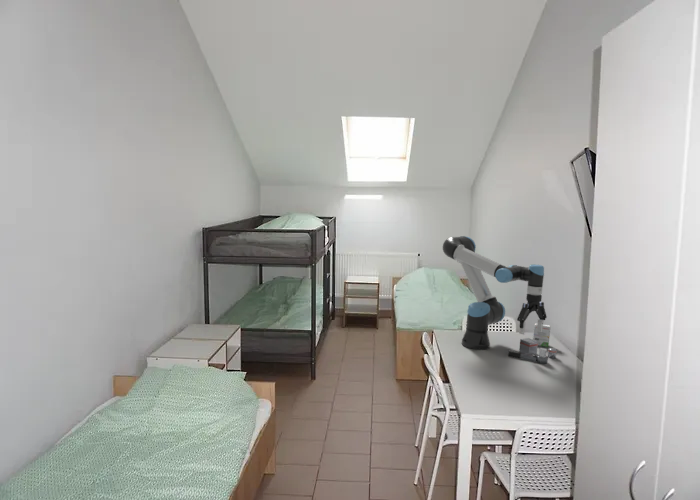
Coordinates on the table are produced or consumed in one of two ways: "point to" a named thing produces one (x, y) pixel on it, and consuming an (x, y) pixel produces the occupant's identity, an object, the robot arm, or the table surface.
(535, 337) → the ink box
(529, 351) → the socket
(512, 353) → the ratchet
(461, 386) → the table surface
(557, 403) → the table surface
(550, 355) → the socket small
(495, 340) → the table surface
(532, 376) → the table surface
